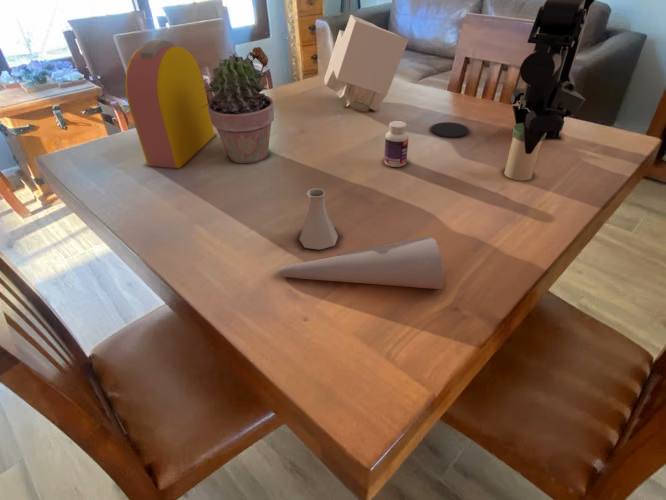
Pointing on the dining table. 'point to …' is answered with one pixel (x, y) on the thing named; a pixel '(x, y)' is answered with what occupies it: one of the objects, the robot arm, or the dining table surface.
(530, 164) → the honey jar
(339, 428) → the dining table surface
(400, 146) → the pill bottle
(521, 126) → the lid
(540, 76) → the robot arm
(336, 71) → the beige tilted block
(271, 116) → the potted plant
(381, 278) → the grey long cone
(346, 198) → the dining table surface
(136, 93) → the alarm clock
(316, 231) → the flask
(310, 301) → the dining table surface
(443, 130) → the coaster
